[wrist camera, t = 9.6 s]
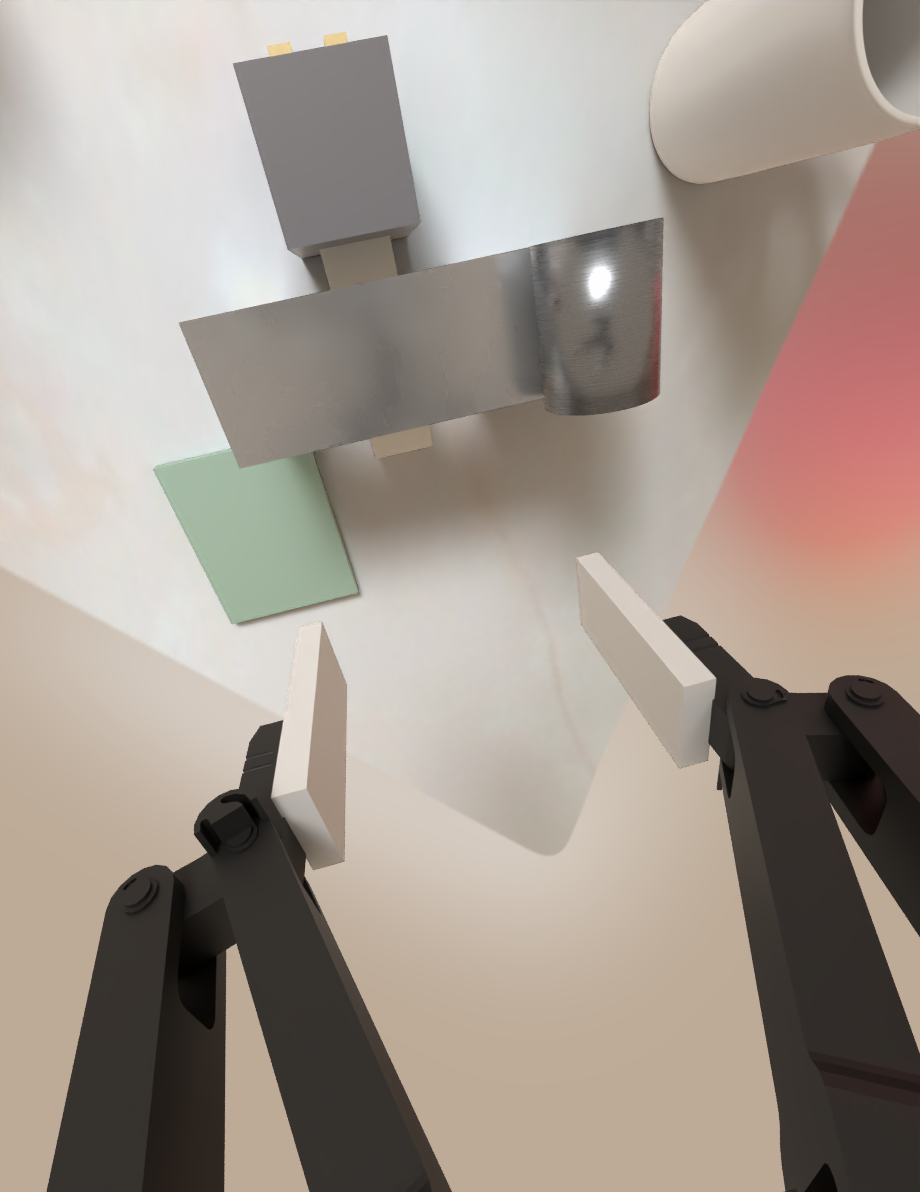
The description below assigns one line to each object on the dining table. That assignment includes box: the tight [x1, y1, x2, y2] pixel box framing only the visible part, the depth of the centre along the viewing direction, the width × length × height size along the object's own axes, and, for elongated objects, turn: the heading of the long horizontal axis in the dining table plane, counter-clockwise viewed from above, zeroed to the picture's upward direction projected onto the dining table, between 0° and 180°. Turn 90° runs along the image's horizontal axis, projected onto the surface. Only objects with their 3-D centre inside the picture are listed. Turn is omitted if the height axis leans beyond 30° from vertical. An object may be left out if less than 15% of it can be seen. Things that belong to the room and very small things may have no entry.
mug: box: [650, 0, 920, 184], centre depth 19 cm, size 10×7×12 cm, turn 94°
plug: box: [233, 32, 433, 459], centre depth 23 cm, size 15×5×6 cm, turn 10°
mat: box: [153, 449, 358, 624], centre depth 30 cm, size 10×8×1 cm
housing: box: [179, 218, 663, 469], centre depth 21 cm, size 5×16×13 cm, turn 100°
